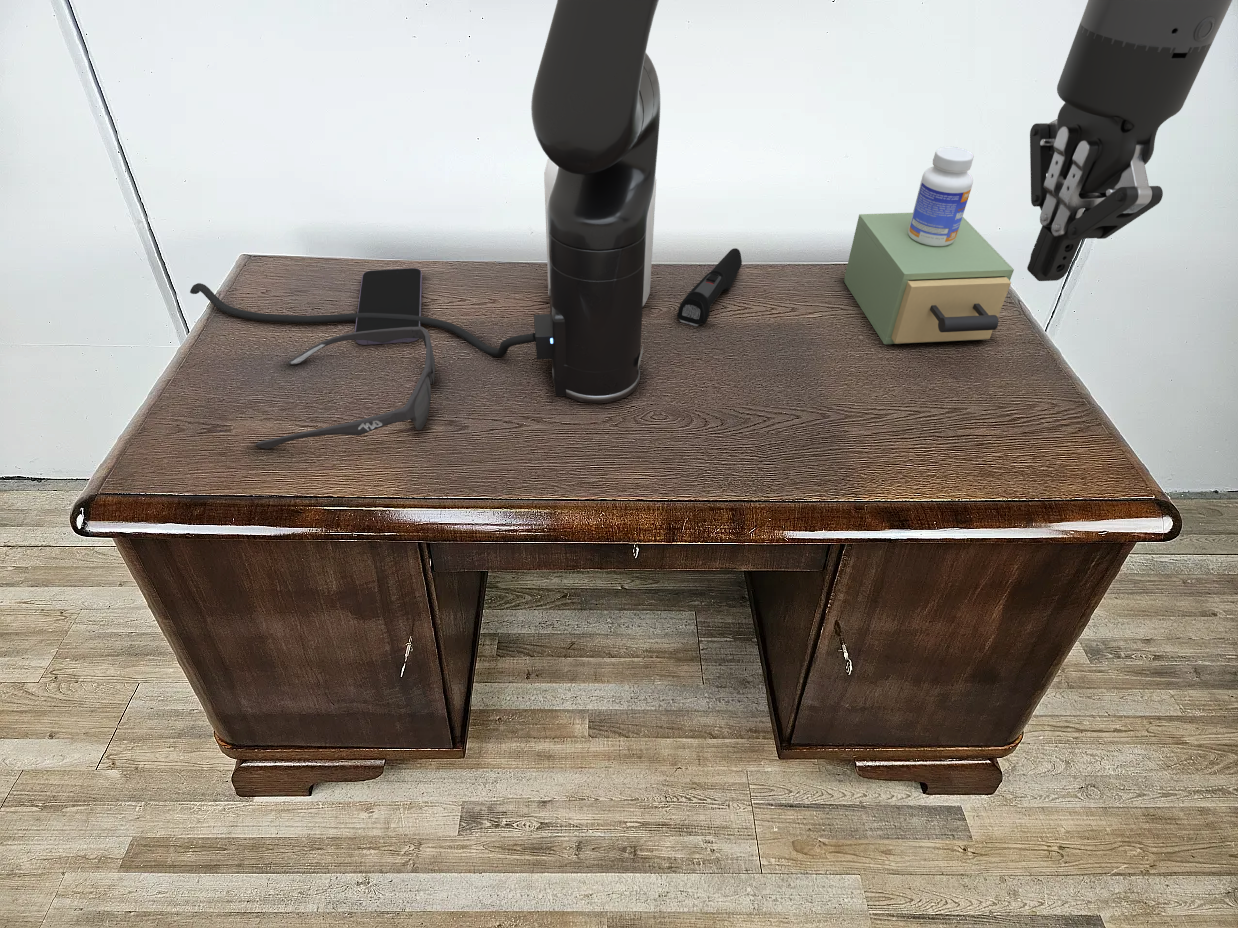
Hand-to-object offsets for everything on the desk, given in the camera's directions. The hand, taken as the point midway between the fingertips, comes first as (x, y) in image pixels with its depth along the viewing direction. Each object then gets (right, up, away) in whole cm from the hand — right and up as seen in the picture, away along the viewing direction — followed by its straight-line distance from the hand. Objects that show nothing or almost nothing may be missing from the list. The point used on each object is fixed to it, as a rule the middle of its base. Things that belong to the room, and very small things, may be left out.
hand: (1043, 276), depth 62 cm
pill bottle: (+4, +12, +33) cm, 35 cm away
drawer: (+4, +3, +35) cm, 35 cm away
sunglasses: (-59, -8, +22) cm, 64 cm away
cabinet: (+4, +5, +38) cm, 39 cm away
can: (-35, +6, +39) cm, 53 cm away
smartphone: (-59, +4, +36) cm, 69 cm away
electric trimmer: (-21, +7, +40) cm, 45 cm away
